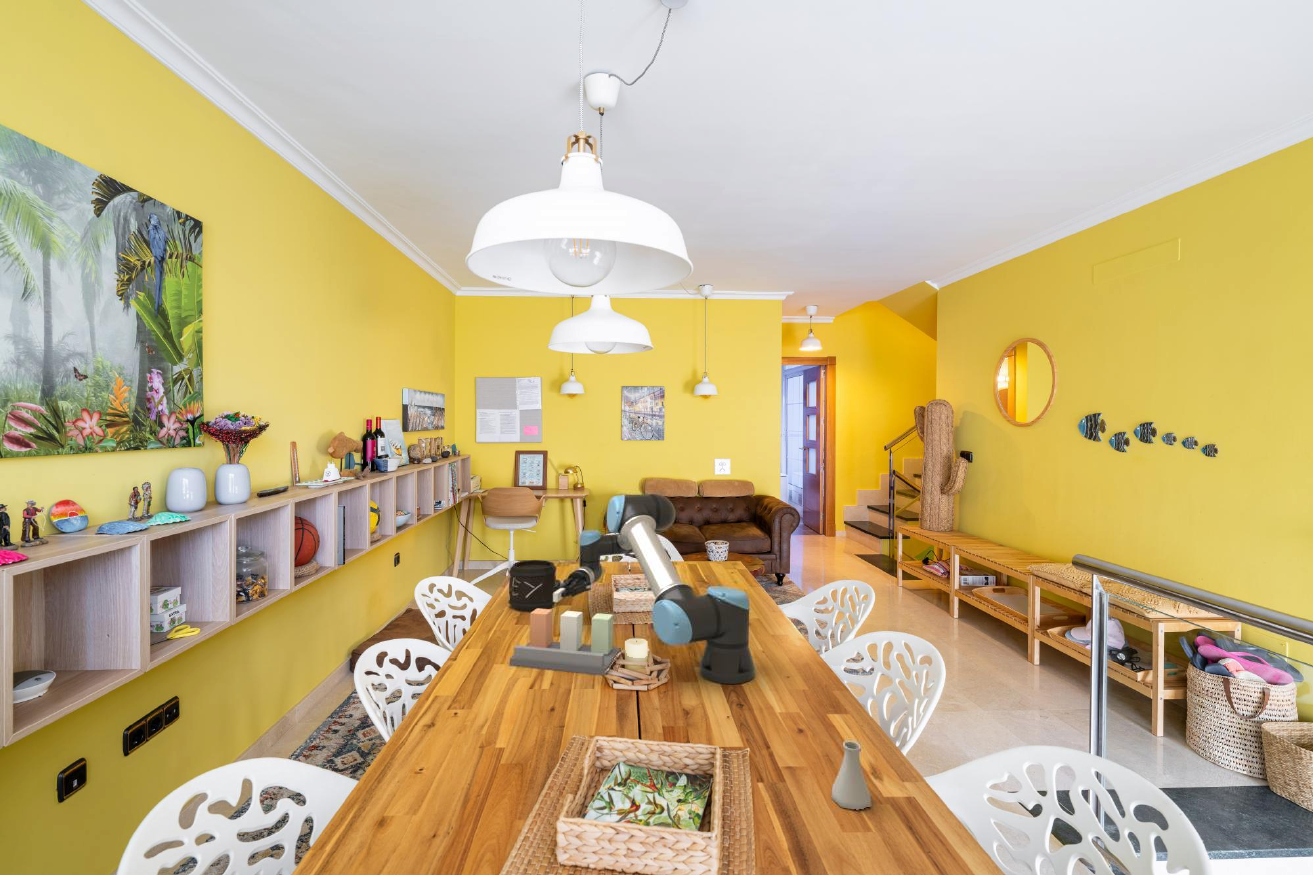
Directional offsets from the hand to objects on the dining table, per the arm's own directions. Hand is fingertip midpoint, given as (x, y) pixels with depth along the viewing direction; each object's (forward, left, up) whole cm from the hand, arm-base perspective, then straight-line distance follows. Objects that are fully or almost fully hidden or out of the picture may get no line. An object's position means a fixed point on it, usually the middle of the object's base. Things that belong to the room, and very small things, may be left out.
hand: (555, 597), depth 192 cm
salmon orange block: (0, +11, -11) cm, 16 cm away
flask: (-84, +64, -14) cm, 106 cm away
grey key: (-10, +11, -11) cm, 18 cm away
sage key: (-19, +11, -11) cm, 25 cm away
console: (-10, +14, -13) cm, 22 cm away
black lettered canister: (+22, -33, -14) cm, 42 cm away
